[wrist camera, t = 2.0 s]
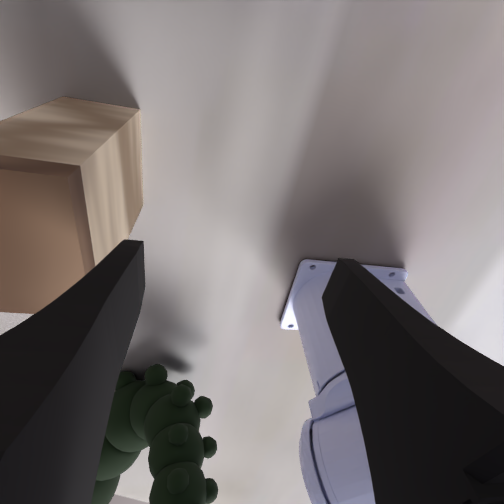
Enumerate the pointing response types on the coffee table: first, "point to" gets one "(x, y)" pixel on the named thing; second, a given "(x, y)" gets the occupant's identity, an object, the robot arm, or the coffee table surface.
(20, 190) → the beech block
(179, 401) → the toy figurine
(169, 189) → the coffee table surface
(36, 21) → the coffee table surface
